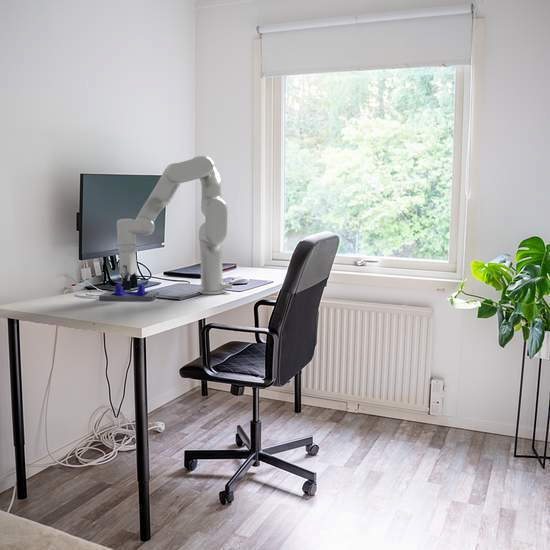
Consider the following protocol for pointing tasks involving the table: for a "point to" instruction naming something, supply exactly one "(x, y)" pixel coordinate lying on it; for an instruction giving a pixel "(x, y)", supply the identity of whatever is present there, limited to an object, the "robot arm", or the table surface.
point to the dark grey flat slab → (128, 297)
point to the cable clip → (122, 293)
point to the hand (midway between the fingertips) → (130, 287)
